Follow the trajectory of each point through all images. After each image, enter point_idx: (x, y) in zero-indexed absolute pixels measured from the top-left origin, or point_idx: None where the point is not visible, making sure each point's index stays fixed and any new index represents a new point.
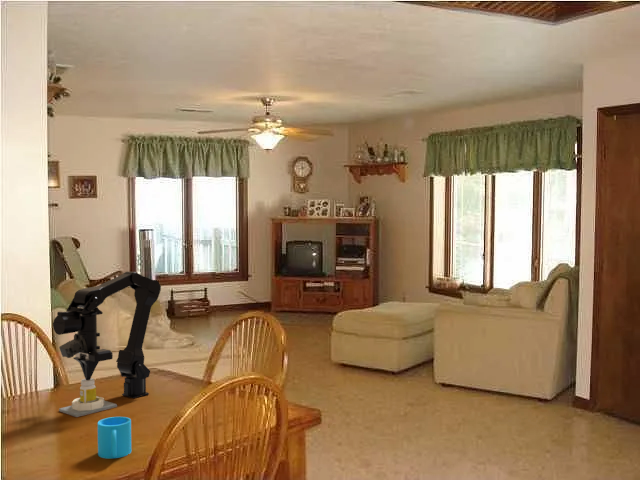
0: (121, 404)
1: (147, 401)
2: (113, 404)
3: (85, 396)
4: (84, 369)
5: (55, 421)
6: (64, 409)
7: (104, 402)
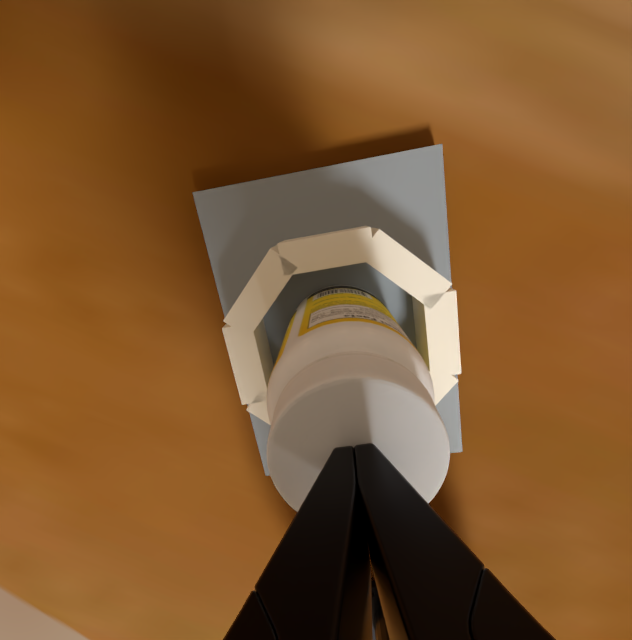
0: None
1: None
2: None
3: (292, 327)
4: (391, 597)
5: (186, 15)
6: (384, 169)
7: None
